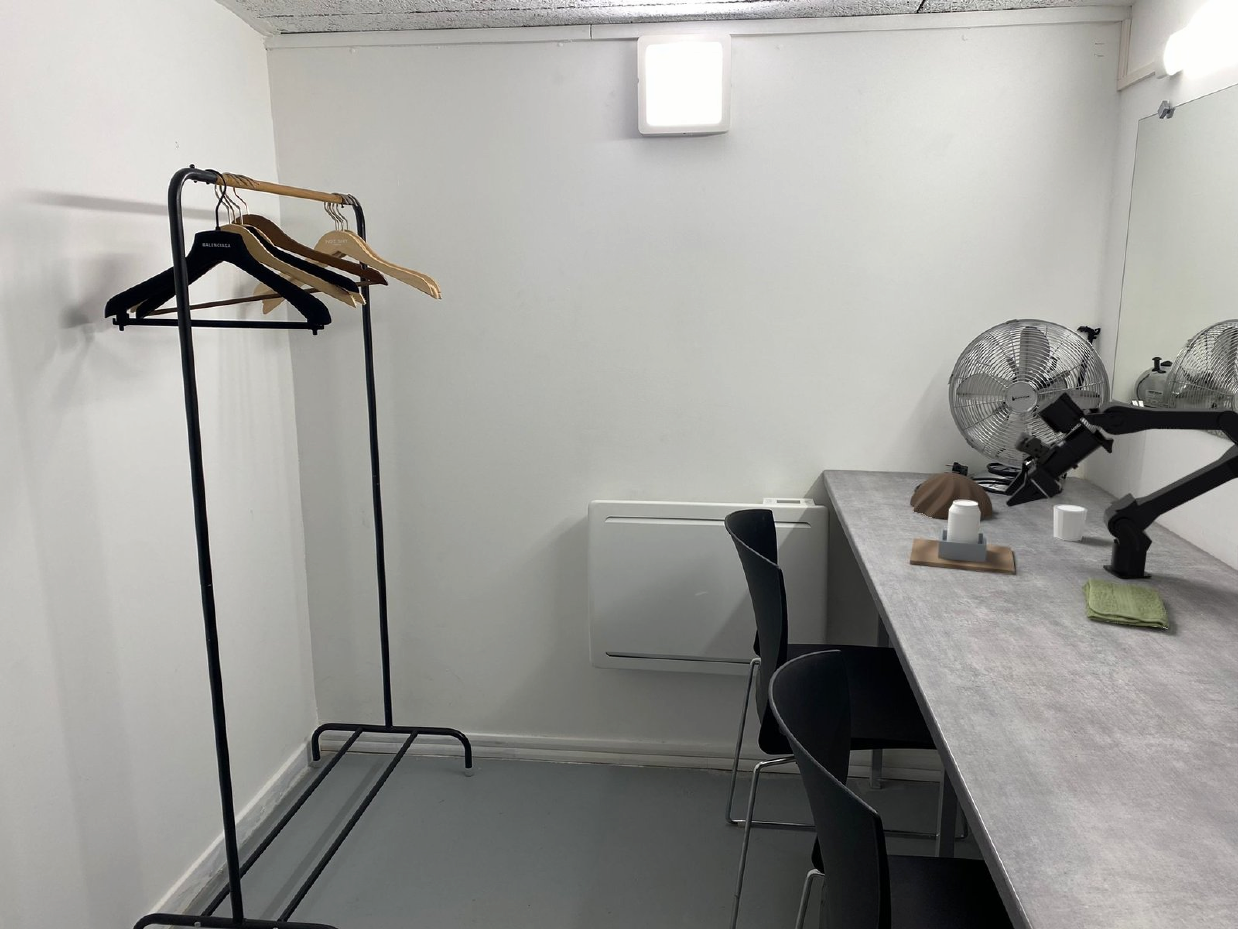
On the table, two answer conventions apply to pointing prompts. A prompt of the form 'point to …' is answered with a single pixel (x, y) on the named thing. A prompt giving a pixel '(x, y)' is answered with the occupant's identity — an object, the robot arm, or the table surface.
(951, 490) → the decorative dome
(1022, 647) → the table surface
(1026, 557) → the table surface
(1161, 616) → the washcloth
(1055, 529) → the white tapered cup
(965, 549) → the gray square open box
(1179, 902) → the table surface
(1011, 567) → the brown slab
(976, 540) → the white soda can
